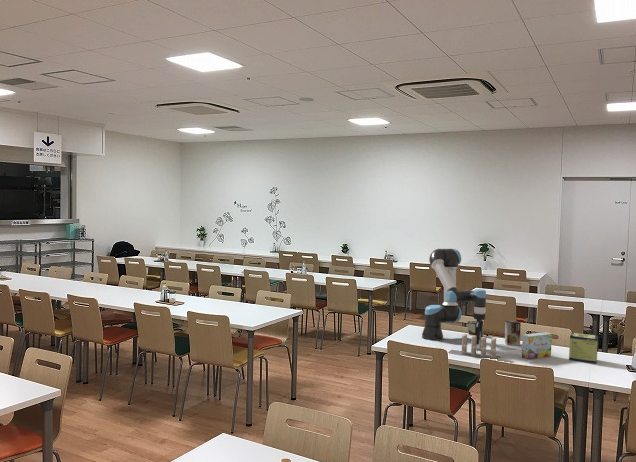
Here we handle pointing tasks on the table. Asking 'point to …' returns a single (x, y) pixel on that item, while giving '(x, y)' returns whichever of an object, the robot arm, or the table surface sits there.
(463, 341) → the tile
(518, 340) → the coffee box
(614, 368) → the table surface
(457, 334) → the table surface
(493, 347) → the tile
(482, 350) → the tile
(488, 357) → the mat
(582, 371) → the table surface
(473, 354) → the tile
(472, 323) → the food container
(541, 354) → the snack box
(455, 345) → the table surface
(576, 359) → the protein box
